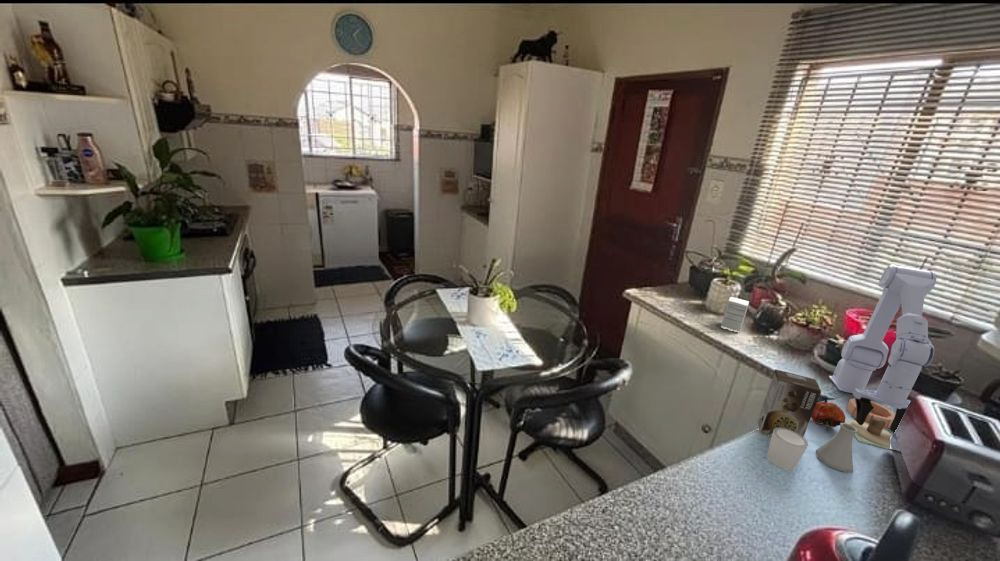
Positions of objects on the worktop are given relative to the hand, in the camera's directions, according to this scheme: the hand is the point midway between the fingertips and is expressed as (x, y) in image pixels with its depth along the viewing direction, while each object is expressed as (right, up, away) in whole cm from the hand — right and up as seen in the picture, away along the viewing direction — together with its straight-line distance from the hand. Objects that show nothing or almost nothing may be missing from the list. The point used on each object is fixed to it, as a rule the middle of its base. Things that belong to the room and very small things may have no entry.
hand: (875, 427), depth 110 cm
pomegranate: (-12, -1, +3) cm, 12 cm away
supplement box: (-3, +19, +64) cm, 67 cm away
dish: (+6, 0, +9) cm, 11 cm away
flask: (-20, -4, -11) cm, 24 cm away
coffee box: (-28, -1, -3) cm, 28 cm away
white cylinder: (-34, -3, -13) cm, 37 cm away
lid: (0, -2, +1) cm, 2 cm away
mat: (0, -2, +1) cm, 3 cm away
